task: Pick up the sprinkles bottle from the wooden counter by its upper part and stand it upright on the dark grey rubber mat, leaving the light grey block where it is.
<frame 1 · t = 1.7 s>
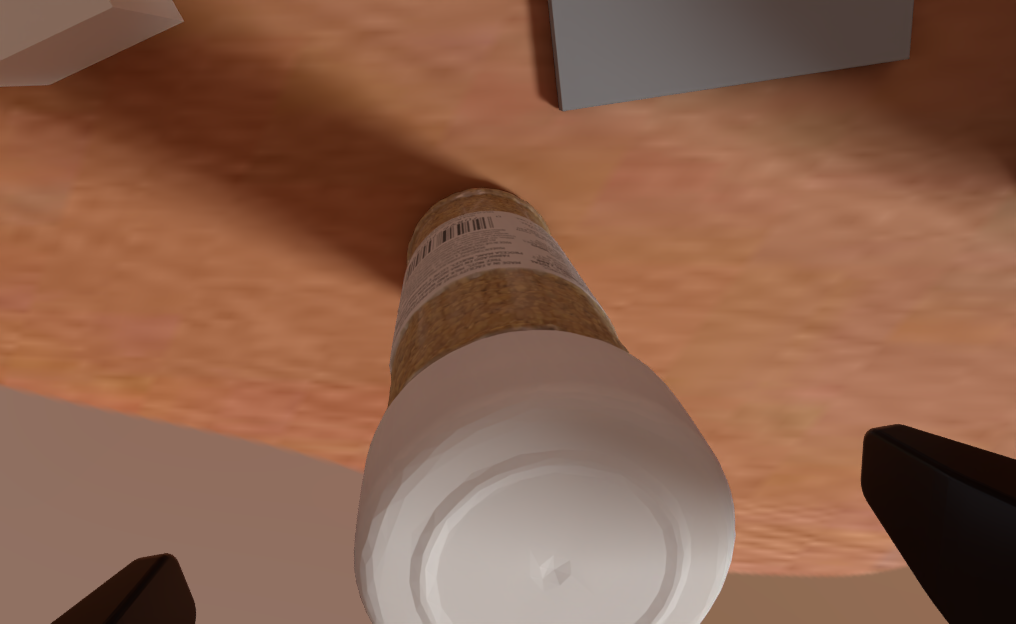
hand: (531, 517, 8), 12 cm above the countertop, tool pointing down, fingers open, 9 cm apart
sprinkles bottle: (482, 256, 20), on the countertop
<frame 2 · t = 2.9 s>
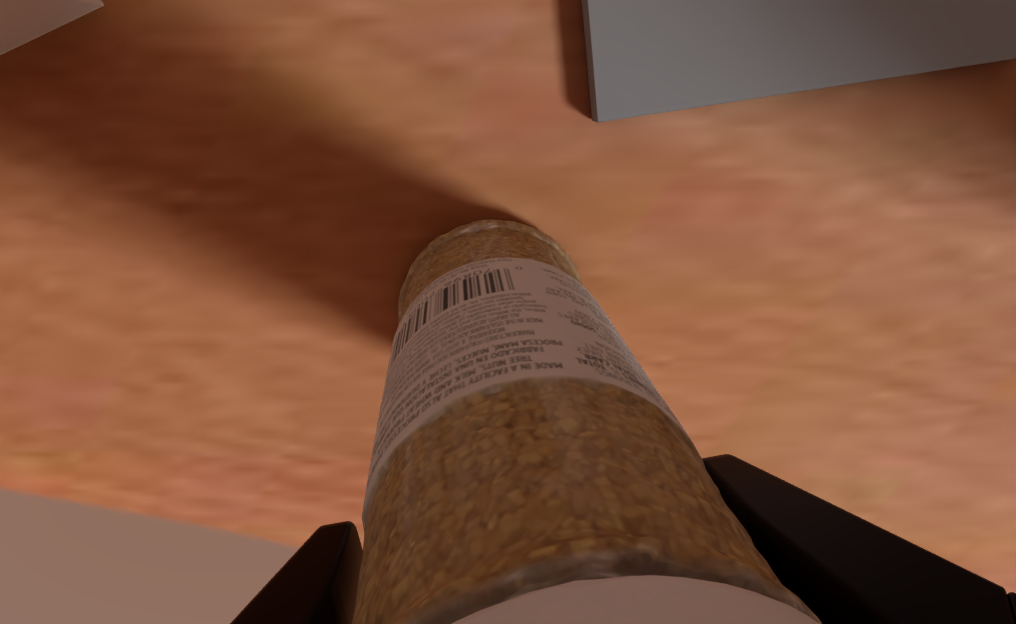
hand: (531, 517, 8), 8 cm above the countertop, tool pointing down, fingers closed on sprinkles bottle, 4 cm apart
sprinkles bottle: (492, 302, 16), on the countertop, touching gripper
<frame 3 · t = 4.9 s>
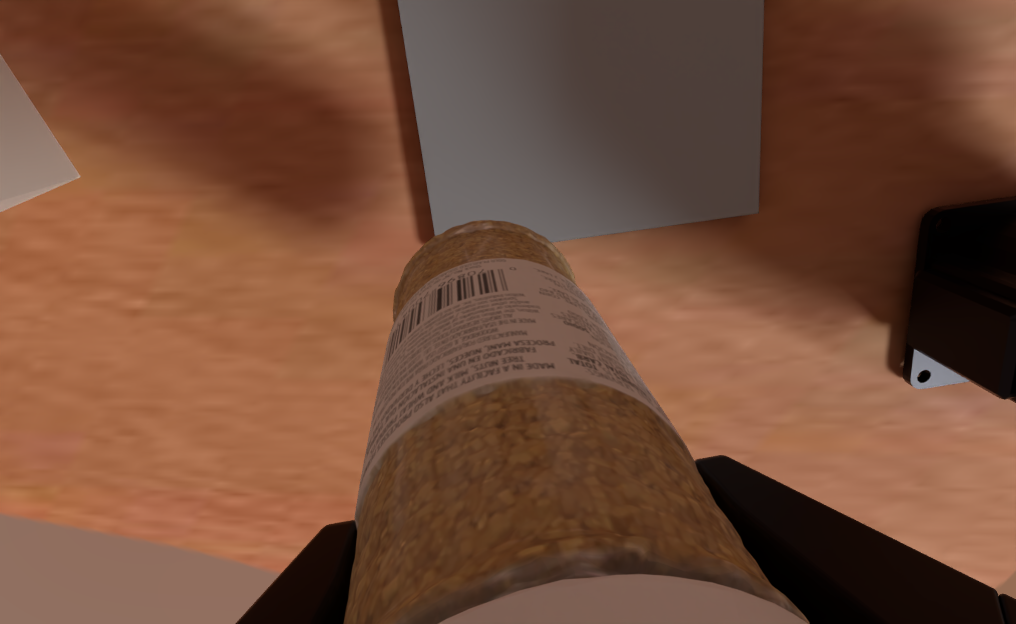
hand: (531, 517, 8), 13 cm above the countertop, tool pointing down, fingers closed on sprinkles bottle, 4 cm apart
sprinkles bottle: (487, 302, 16), point 4 cm above the countertop, touching gripper
grey mat: (587, 97, 19), on the countertop
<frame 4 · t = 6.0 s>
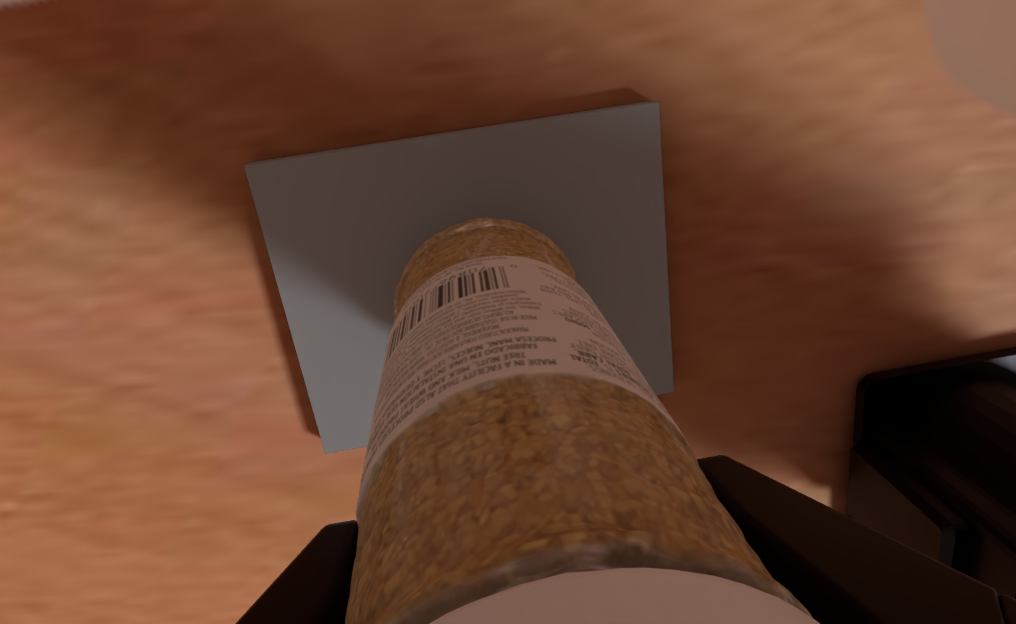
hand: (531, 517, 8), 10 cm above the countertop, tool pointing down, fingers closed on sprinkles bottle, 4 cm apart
sprinkles bottle: (488, 300, 16), point 1 cm above the countertop, touching gripper
grey mat: (478, 283, 17), on the countertop
when the fingers open (10 cm above the countertop, at t = 6.6 s): sprinkles bottle drops 1 cm, resting on grey mat.
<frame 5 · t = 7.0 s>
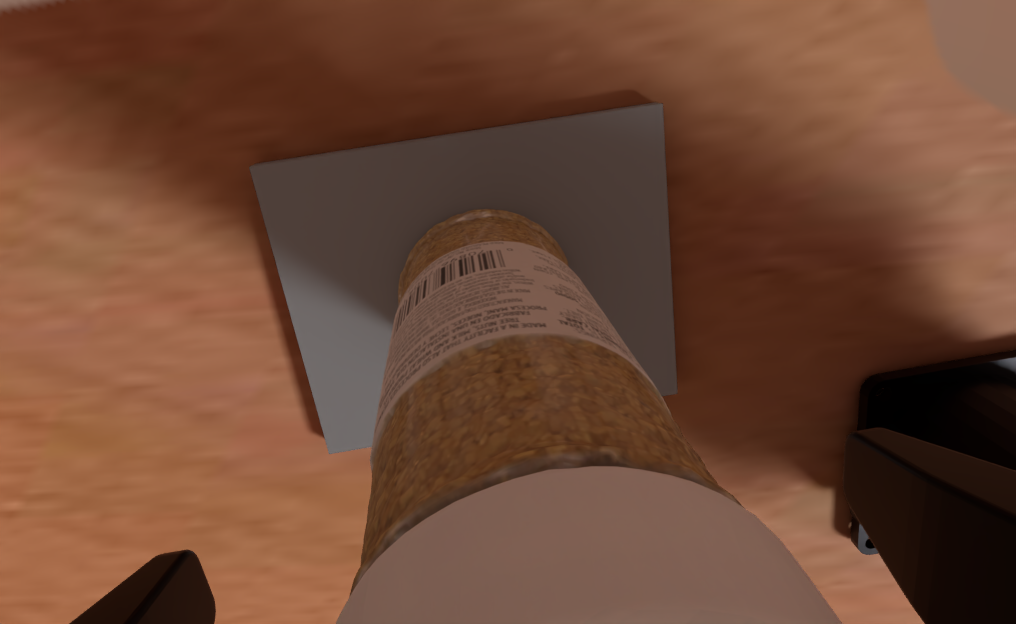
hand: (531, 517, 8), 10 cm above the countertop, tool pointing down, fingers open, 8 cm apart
sprinkles bottle: (486, 287, 17), resting on grey mat
grey mat: (482, 284, 18), on the countertop
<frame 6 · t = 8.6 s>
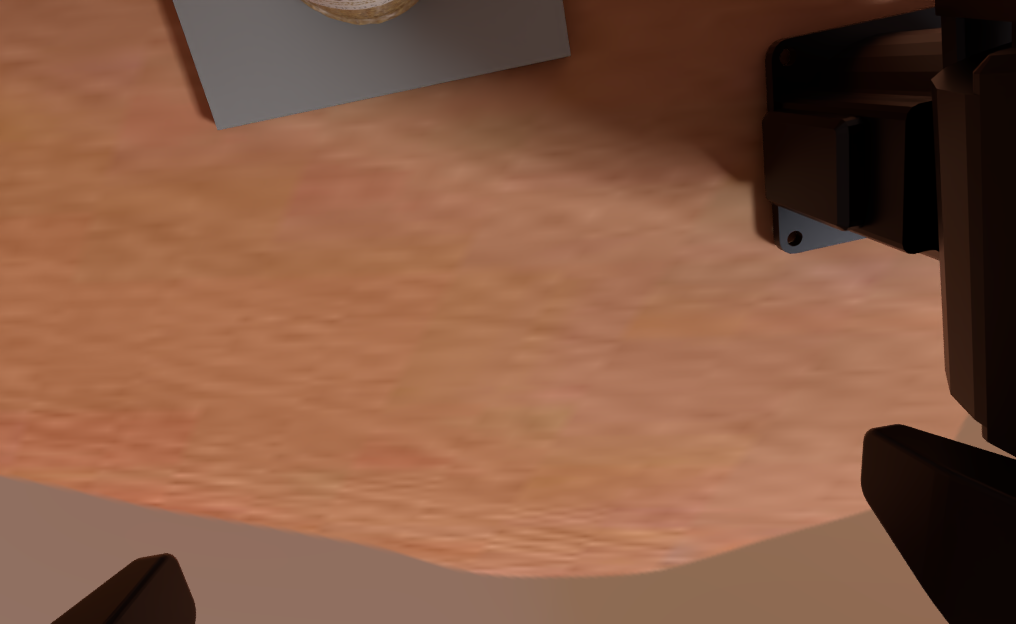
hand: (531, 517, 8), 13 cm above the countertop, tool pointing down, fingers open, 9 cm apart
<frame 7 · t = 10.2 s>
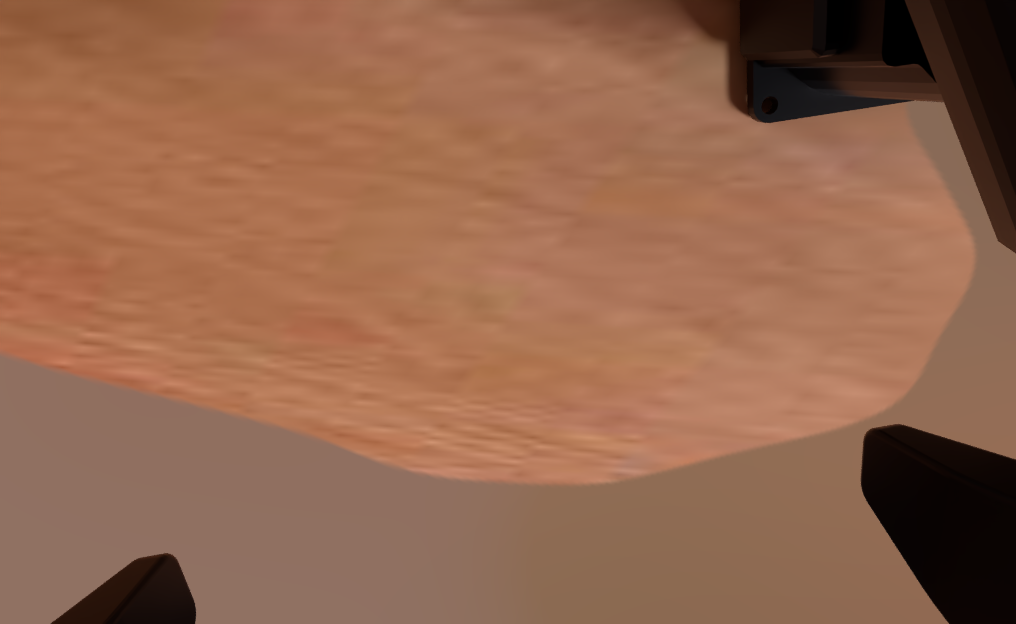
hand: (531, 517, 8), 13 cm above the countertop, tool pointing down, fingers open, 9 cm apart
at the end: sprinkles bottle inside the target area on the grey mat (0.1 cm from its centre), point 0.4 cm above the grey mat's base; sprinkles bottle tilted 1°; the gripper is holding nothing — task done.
